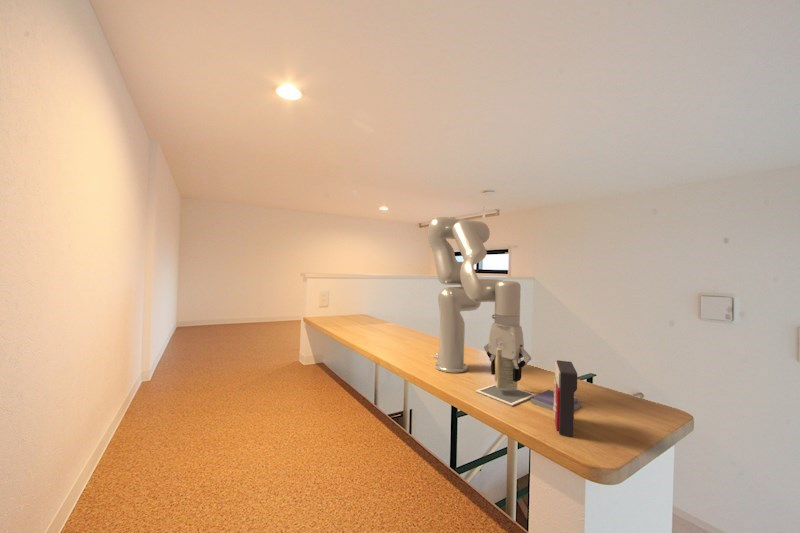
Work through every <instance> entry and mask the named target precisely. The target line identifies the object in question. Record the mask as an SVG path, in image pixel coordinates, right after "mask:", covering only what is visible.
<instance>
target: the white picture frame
mask: <svg viewBox="0 0 800 533" xmlns="http://www.w3.org/2000/svg"><path fill="white" fill-rule="evenodd" d="M475 393H477V394H479V395H482V396H484V397H487V398H490V399H493V400H495V401H497V402H500V403H503V404H505V405H507V406H510V407H514V406H517V405H520V404H521V403H524V402H527V401H528V400H531V399H532V398H534V396H535V395H537V394H536V393H534V392H533V393H532V392H529V391H526V390H525V389H524V390H523V389H521V388H518V387H517V389H500V388H497V387H496V385H495V383H494V384H491V385H489V386H484V387H483V388H479V389H476V390H475Z"/></svg>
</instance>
